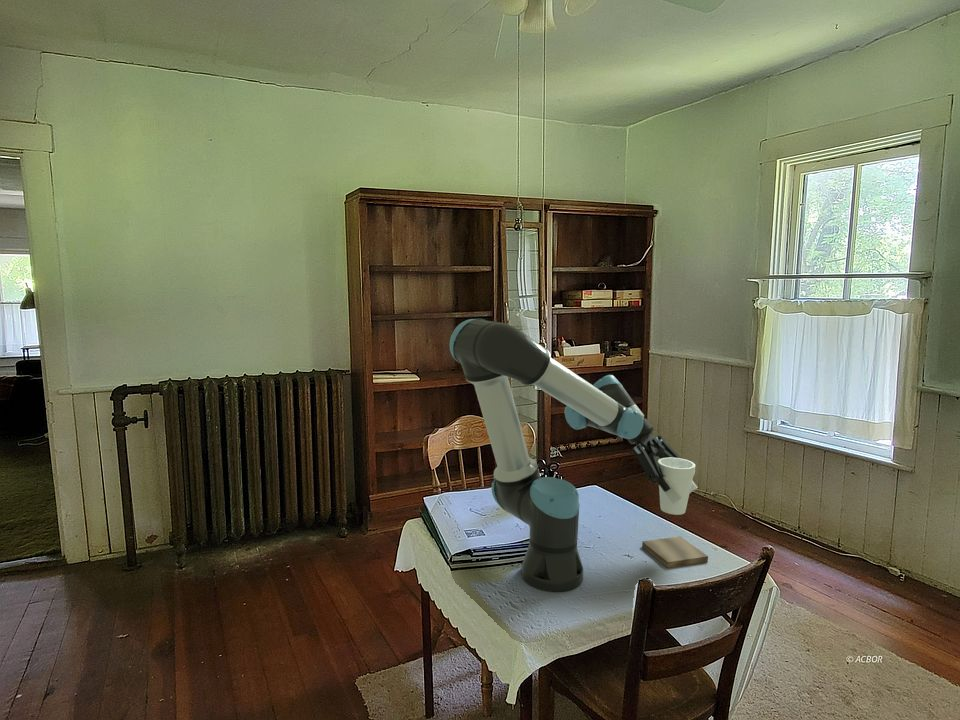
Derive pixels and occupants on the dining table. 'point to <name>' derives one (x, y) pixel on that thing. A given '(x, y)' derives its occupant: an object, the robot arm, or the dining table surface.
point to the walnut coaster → (674, 551)
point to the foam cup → (676, 483)
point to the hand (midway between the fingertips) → (685, 495)
